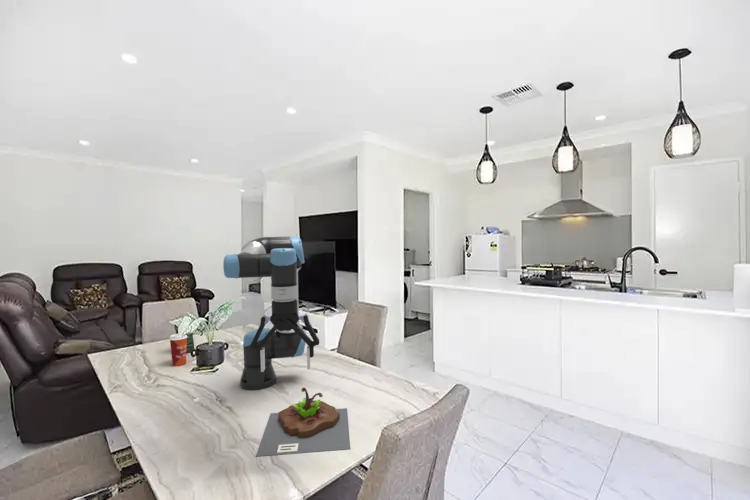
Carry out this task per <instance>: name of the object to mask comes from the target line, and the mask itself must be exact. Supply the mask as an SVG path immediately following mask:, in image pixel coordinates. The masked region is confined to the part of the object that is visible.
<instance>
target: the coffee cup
mask: <svg viewBox="0 0 750 500" xmlns="http://www.w3.org/2000/svg"><path fill="white" fill-rule="evenodd" d="M187 337H188V336H187V335H185V336H183V337H182V338H181V337H179V335H178V334H176V333H174V334H171V335H170V336H169V342H170V352H171V353H170V354H171V361H172V366H173V367H180V366H185V365H186V364H187V353H186V350H187Z"/></svg>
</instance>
